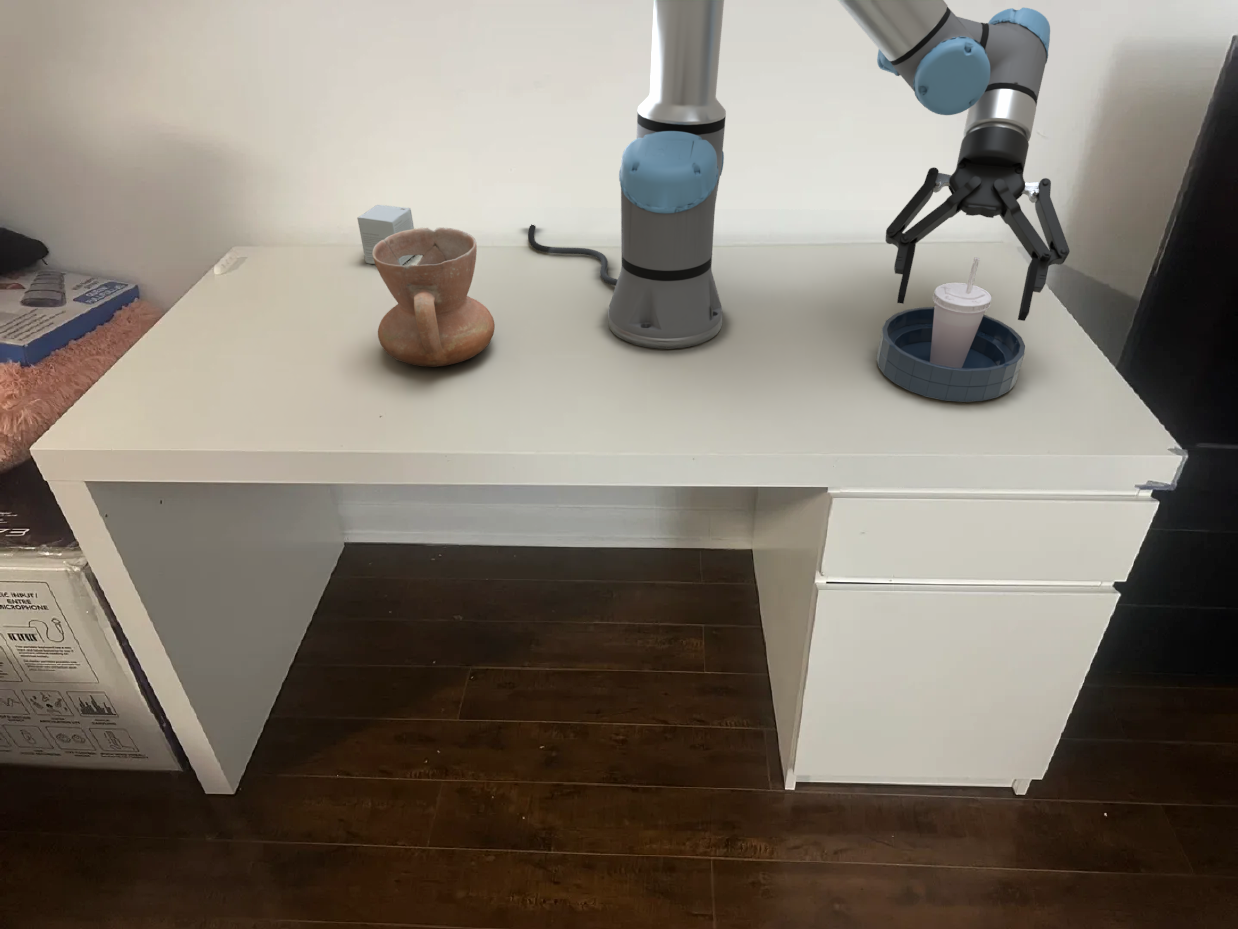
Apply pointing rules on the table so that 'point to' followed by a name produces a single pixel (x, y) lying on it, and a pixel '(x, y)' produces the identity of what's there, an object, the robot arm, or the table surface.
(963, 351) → the smoothie
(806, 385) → the table surface
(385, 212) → the product box
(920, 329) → the bowl
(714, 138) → the robot arm
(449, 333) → the ceramic jug
